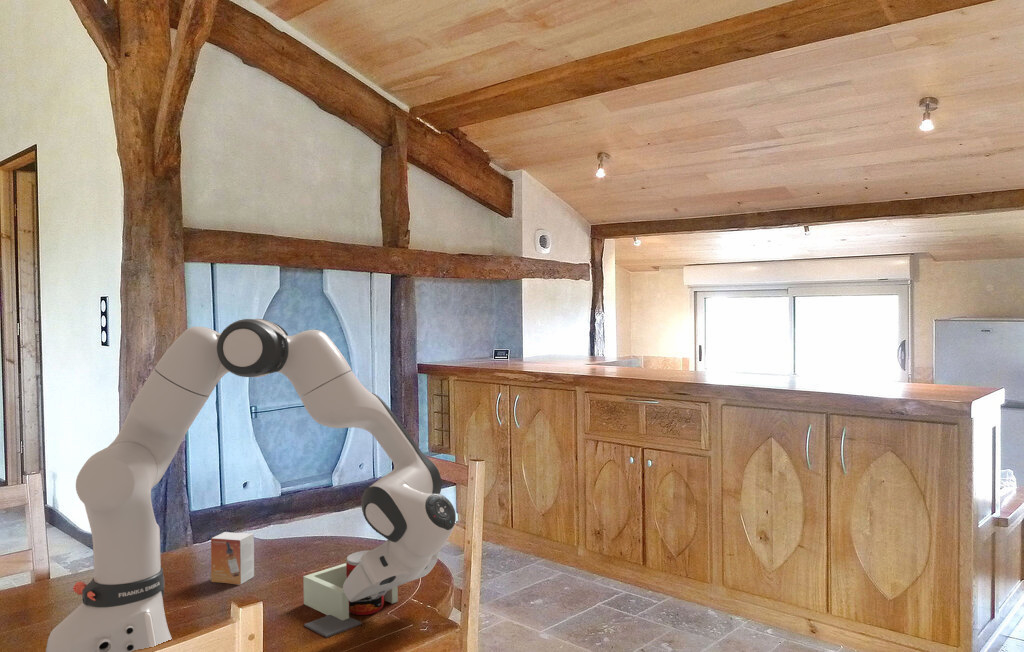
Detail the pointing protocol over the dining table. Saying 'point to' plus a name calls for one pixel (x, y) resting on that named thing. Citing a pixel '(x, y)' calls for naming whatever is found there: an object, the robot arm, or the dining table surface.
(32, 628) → the dining table surface
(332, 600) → the dock
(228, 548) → the small box
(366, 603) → the canned food
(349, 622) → the mat
